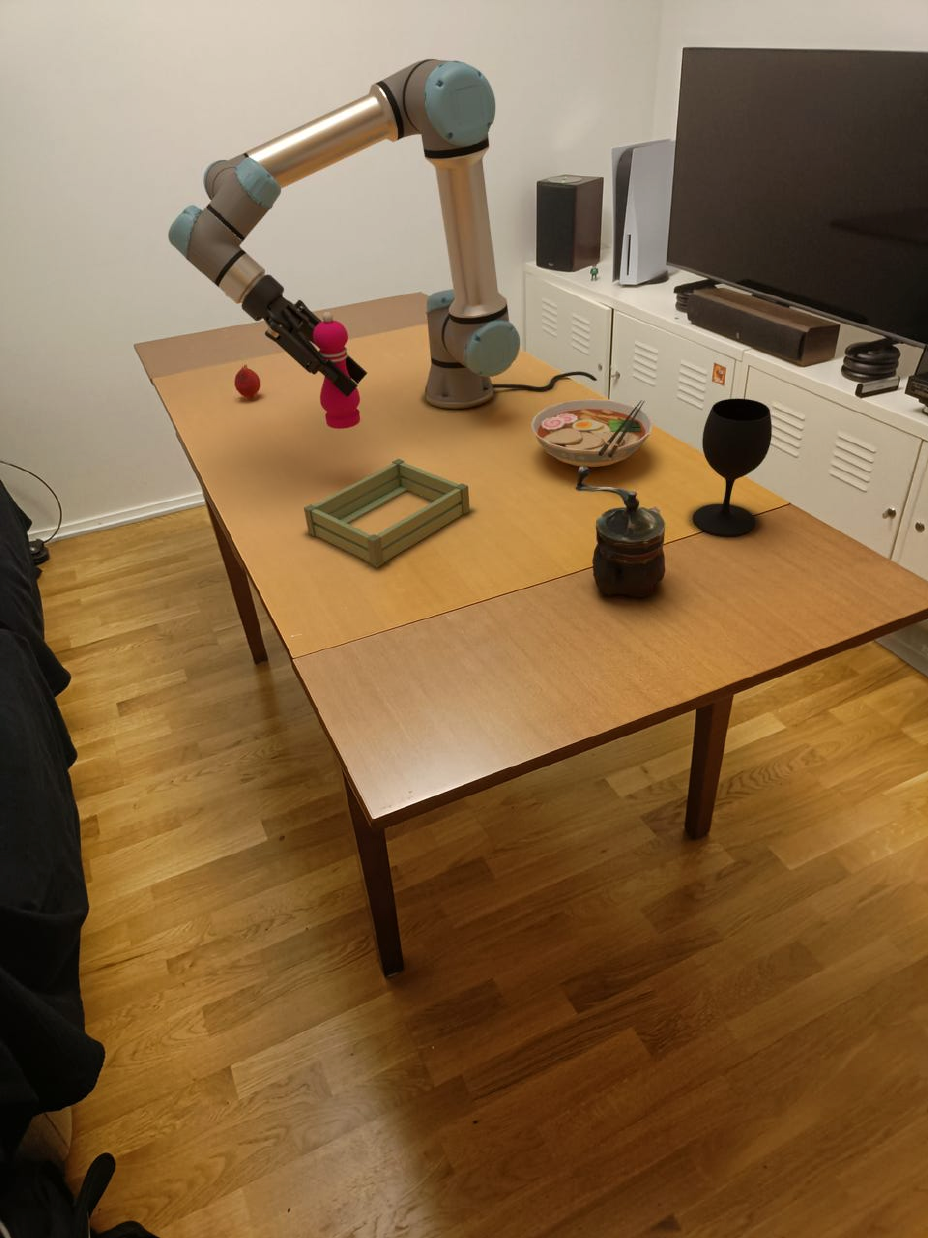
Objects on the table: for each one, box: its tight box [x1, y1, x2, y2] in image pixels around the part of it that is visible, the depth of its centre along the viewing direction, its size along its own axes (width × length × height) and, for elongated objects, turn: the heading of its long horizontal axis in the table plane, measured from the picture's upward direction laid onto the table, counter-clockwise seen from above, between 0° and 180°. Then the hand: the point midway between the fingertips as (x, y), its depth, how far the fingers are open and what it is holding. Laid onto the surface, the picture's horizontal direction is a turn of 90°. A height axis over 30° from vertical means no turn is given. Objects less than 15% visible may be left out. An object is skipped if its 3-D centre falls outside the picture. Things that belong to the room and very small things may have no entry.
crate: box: [303, 458, 471, 569], centre depth 147 cm, size 23×18×5 cm
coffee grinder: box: [574, 466, 666, 599], centre depth 125 cm, size 13×15×18 cm
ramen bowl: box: [530, 398, 653, 468], centre depth 161 cm, size 25×23×8 cm
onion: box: [233, 363, 261, 400], centre depth 195 cm, size 6×6×8 cm
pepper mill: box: [313, 311, 361, 430], centre depth 150 cm, size 7×7×20 cm
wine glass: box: [692, 398, 773, 538], centre depth 137 cm, size 10×10×20 cm
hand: (357, 384), depth 151 cm, fingers closed on pepper mill, 5 cm apart
